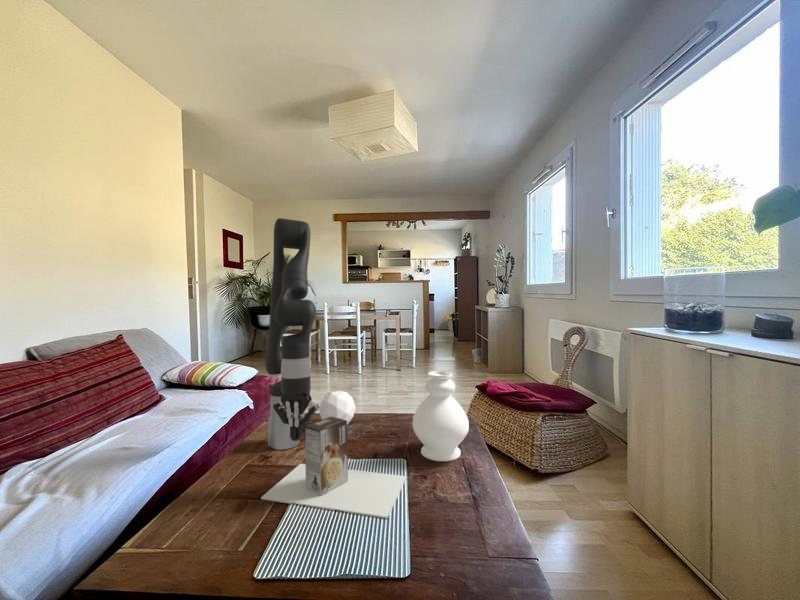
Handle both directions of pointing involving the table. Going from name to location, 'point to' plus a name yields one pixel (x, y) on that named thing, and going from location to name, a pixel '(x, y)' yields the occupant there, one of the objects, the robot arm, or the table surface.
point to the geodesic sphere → (337, 406)
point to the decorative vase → (440, 419)
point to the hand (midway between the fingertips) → (296, 439)
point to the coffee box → (326, 455)
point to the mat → (342, 492)
